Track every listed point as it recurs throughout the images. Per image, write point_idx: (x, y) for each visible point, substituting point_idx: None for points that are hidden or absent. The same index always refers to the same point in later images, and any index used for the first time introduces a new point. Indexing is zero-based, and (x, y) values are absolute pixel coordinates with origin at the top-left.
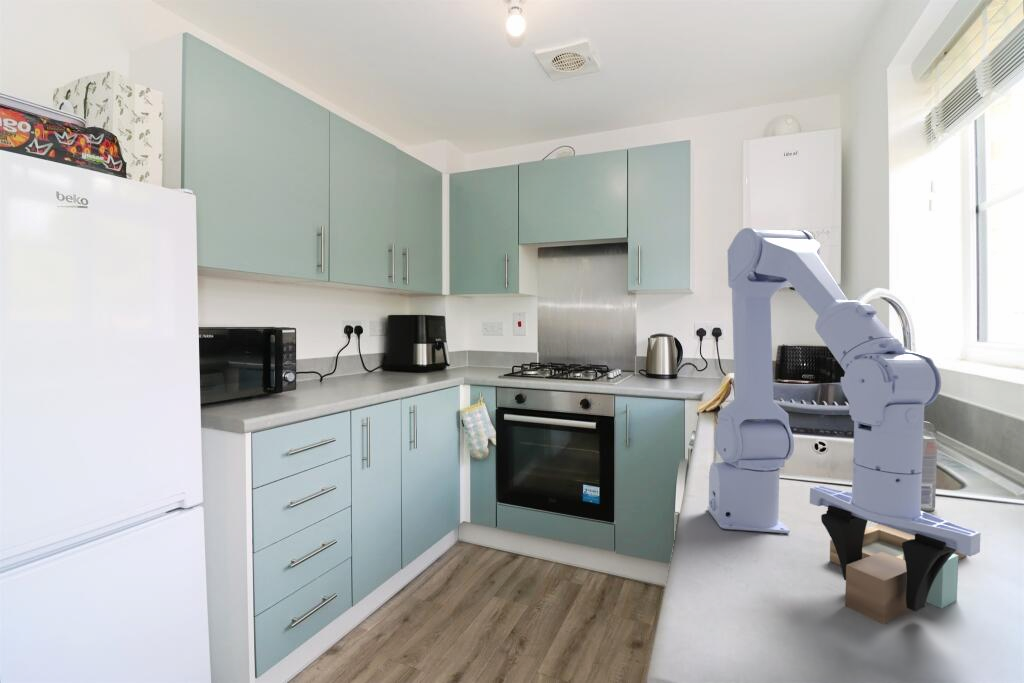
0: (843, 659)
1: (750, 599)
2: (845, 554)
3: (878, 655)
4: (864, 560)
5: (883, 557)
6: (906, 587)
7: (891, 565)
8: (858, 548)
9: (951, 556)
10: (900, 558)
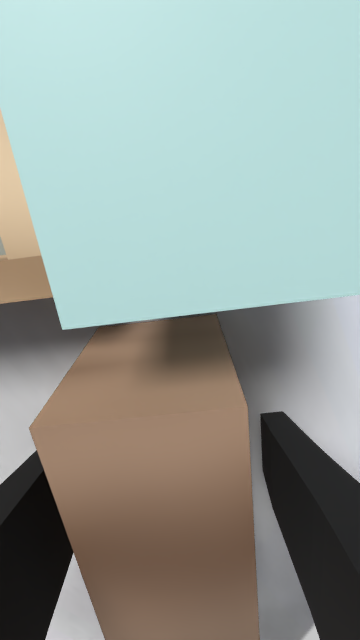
0: (268, 631)
1: (62, 634)
2: (42, 634)
3: (292, 583)
4: (99, 585)
5: (97, 488)
6: (292, 561)
7: (182, 535)
8: (3, 572)
9: (356, 24)
10: (3, 159)
